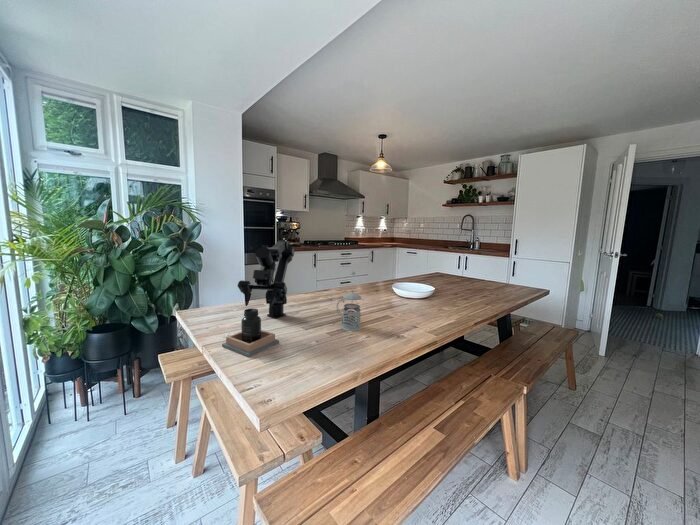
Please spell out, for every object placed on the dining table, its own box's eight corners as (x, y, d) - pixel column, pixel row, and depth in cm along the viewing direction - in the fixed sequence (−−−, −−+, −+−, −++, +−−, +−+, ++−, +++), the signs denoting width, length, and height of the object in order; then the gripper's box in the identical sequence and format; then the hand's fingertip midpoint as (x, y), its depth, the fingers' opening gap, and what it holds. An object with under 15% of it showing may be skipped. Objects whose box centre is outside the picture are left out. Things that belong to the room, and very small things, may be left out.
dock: (253, 334, 114) (253, 325, 113) (278, 342, 107) (278, 333, 106) (222, 346, 102) (221, 337, 101) (248, 357, 95) (248, 347, 94)
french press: (360, 332, 120) (362, 274, 117) (333, 329, 122) (335, 272, 119) (363, 324, 130) (366, 270, 126) (339, 321, 132) (340, 268, 129)
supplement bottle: (264, 341, 105) (264, 310, 103) (247, 347, 100) (247, 314, 98) (255, 336, 109) (254, 306, 108) (238, 341, 104) (237, 309, 102)
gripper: (238, 260, 113) (227, 294, 104) (285, 262, 112) (277, 296, 103) (246, 276, 122) (236, 308, 112) (290, 278, 121) (283, 311, 112)
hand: (257, 306), depth 110 cm, fingers open, 9 cm apart
